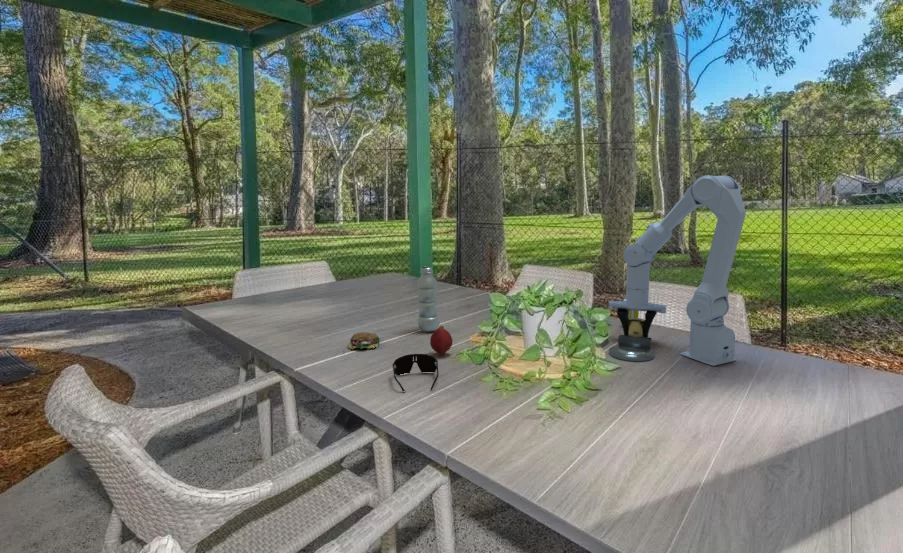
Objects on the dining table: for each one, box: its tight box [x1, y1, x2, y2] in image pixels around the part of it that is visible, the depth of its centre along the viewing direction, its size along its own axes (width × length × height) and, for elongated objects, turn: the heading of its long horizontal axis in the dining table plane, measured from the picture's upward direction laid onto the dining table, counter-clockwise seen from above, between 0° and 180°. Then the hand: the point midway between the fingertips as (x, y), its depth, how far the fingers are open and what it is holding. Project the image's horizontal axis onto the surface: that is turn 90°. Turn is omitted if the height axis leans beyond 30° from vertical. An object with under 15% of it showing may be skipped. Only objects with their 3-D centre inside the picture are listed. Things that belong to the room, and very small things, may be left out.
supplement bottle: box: [623, 298, 640, 319], centre depth 149 cm, size 5×5×8 cm
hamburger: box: [348, 331, 381, 350], centre depth 137 cm, size 14×14×6 cm
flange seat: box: [608, 334, 656, 363], centre depth 124 cm, size 11×11×3 cm
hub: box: [627, 317, 645, 337], centre depth 135 cm, size 5×5×6 cm
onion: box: [429, 324, 453, 355], centre depth 128 cm, size 6×6×8 cm
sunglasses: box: [392, 353, 439, 392], centre depth 111 cm, size 10×12×5 cm
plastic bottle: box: [416, 266, 440, 333], centre depth 150 cm, size 6×7×20 cm
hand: (636, 336), depth 135 cm, fingers closed on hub, 5 cm apart
